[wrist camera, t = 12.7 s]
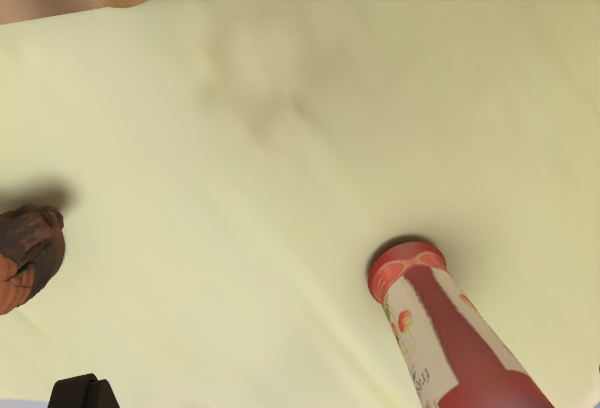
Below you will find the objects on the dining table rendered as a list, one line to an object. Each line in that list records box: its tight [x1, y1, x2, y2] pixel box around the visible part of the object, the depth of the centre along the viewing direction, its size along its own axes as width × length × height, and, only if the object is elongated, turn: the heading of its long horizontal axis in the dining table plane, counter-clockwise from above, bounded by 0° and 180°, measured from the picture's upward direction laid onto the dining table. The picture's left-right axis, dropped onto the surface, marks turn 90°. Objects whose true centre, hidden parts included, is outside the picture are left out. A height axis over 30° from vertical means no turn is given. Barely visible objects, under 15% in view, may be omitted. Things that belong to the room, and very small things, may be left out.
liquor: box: [368, 242, 554, 408], centre depth 36 cm, size 7×7×28 cm
